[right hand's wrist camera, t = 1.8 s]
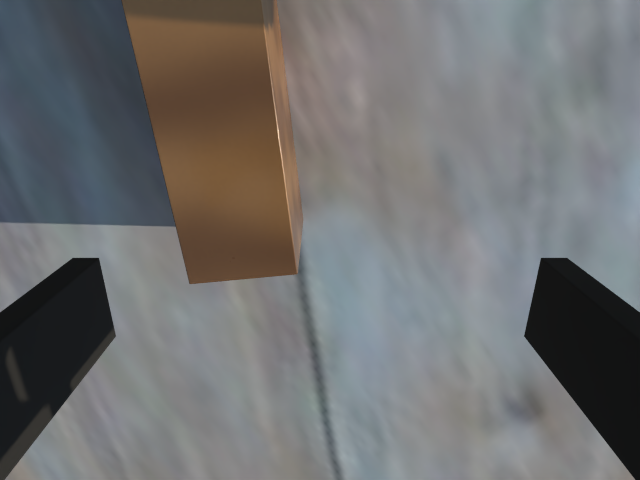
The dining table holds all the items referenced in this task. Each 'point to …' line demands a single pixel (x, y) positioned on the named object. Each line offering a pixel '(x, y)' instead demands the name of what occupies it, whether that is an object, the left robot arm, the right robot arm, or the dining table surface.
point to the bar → (222, 132)
